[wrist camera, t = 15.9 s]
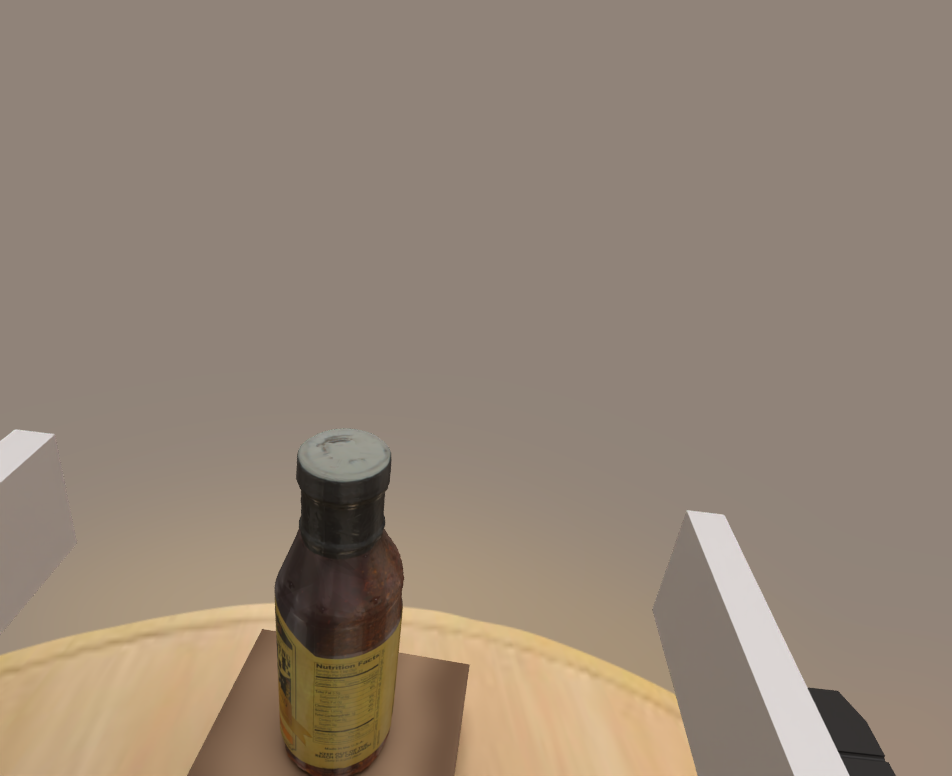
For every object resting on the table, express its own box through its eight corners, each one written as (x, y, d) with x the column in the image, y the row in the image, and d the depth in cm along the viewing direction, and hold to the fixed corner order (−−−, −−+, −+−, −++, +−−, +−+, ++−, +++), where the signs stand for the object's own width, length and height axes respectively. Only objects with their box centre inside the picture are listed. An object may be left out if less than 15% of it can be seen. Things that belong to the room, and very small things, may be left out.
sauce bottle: (300, 681, 41) (300, 399, 32) (400, 696, 41) (427, 418, 32) (261, 784, 35) (246, 475, 26) (377, 803, 35) (403, 499, 26)
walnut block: (169, 897, 35) (158, 831, 32) (264, 690, 47) (262, 629, 44) (428, 946, 34) (439, 884, 32) (459, 724, 46) (469, 664, 43)
